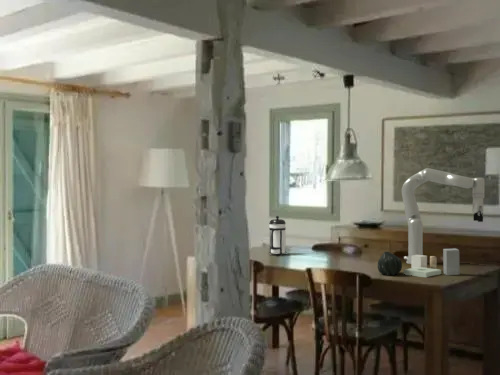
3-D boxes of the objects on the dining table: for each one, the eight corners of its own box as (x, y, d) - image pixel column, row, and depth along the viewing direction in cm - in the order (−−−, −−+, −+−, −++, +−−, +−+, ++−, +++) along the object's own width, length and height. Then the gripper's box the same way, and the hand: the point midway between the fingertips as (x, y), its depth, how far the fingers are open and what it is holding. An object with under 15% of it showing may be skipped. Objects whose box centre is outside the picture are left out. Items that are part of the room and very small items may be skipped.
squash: (410, 265, 391) (395, 246, 397) (398, 269, 380) (383, 249, 386) (395, 279, 398) (380, 260, 404) (383, 283, 387) (368, 263, 393)
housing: (411, 269, 408) (411, 255, 407) (417, 268, 412) (417, 254, 412) (420, 270, 402) (420, 256, 402) (426, 269, 407) (426, 255, 407)
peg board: (403, 274, 391) (403, 269, 391) (418, 271, 402) (418, 266, 402) (426, 277, 379) (426, 272, 379) (441, 274, 390) (441, 269, 390)
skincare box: (456, 273, 394) (456, 248, 393) (460, 275, 387) (460, 249, 386) (442, 273, 394) (442, 248, 393) (446, 275, 386) (446, 249, 386)
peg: (428, 272, 399) (428, 256, 398) (432, 271, 401) (432, 255, 401) (434, 273, 396) (434, 257, 395) (437, 272, 398) (437, 256, 398)
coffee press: (264, 254, 492) (263, 215, 491) (283, 253, 497) (283, 215, 496) (271, 256, 475) (271, 217, 475) (291, 256, 480) (291, 216, 479)
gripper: (469, 195, 436) (468, 220, 437) (476, 196, 419) (476, 222, 419) (480, 195, 436) (479, 220, 436) (488, 196, 419) (487, 222, 419)
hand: (478, 221), depth 428 cm, fingers open, 9 cm apart
